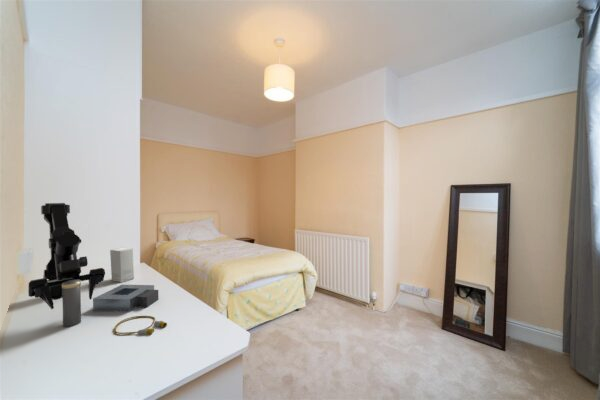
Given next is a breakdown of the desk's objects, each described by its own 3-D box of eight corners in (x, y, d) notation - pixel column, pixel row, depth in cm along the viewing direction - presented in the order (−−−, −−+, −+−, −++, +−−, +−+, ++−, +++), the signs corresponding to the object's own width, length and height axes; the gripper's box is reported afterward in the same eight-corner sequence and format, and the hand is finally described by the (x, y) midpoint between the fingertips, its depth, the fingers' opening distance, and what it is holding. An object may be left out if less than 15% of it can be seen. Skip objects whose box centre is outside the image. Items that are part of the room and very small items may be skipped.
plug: (58, 327, 79) (57, 284, 79) (72, 319, 84) (71, 279, 83) (72, 327, 79) (71, 284, 79) (85, 320, 83) (84, 279, 83)
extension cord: (124, 347, 70) (123, 340, 70) (109, 327, 80) (108, 321, 80) (168, 329, 79) (168, 323, 79) (150, 313, 89) (150, 308, 89)
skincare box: (134, 278, 124) (134, 248, 124) (120, 283, 118) (119, 251, 118) (124, 276, 128) (124, 246, 127) (110, 280, 122) (109, 249, 121)
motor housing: (93, 310, 90) (92, 298, 90) (122, 295, 104) (122, 284, 104) (140, 311, 90) (140, 299, 89) (163, 295, 104) (163, 285, 103)
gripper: (28, 255, 76) (30, 300, 69) (103, 245, 90) (112, 282, 84) (27, 275, 81) (29, 318, 74) (98, 263, 96) (106, 299, 89)
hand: (72, 303), depth 80 cm, fingers open, 9 cm apart
